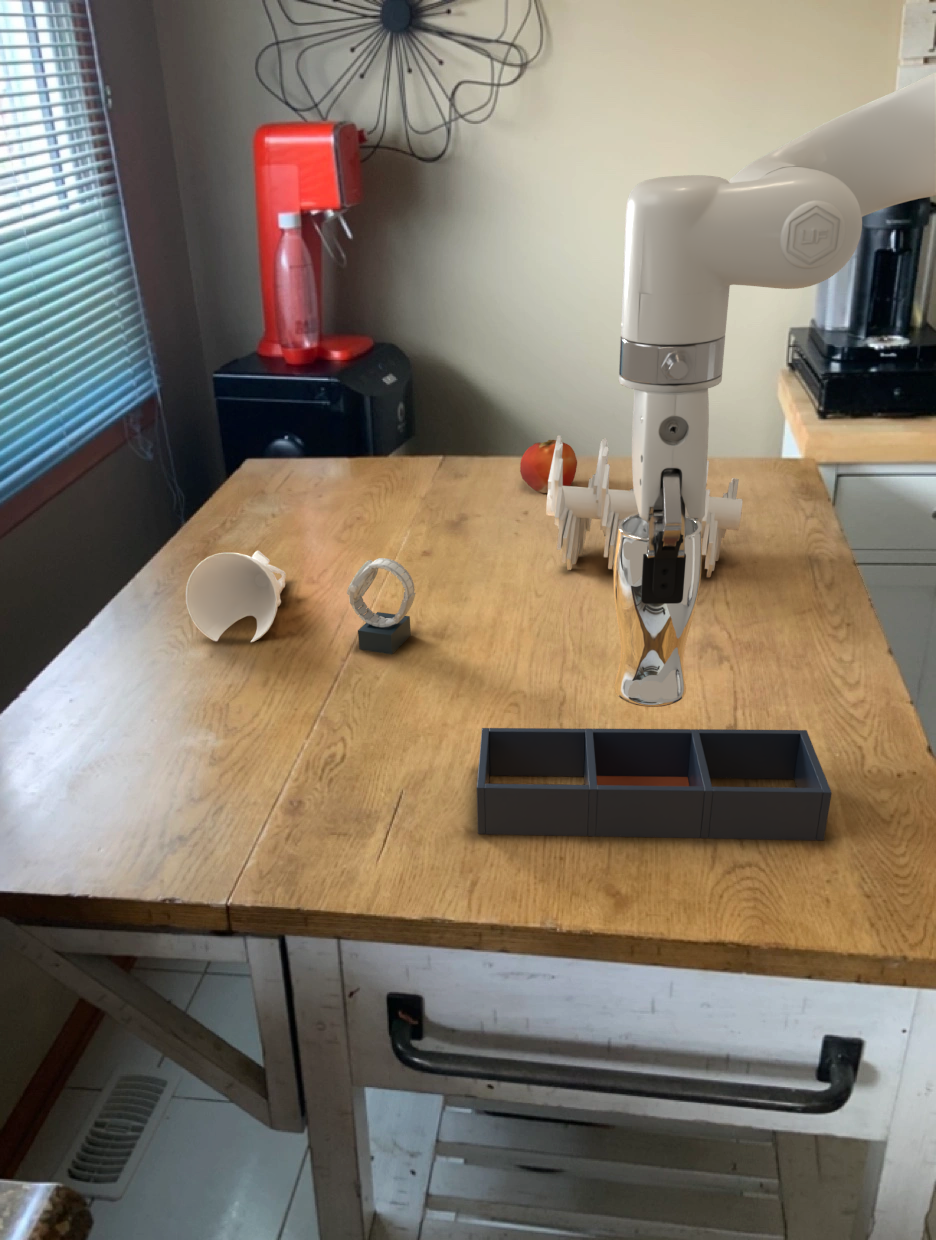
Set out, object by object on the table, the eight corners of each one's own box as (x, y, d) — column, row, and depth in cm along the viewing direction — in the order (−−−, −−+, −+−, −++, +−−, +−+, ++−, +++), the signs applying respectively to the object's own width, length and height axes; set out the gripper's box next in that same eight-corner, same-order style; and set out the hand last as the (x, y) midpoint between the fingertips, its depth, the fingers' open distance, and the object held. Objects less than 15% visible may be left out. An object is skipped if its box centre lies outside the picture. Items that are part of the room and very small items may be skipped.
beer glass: (661, 665, 101) (671, 505, 94) (708, 698, 96) (723, 530, 88) (593, 682, 99) (599, 520, 92) (637, 717, 94) (647, 547, 86)
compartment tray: (799, 780, 106) (806, 729, 104) (823, 846, 97) (832, 792, 95) (482, 777, 110) (481, 727, 107) (477, 839, 101) (476, 787, 98)
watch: (364, 632, 140) (358, 549, 135) (424, 641, 137) (420, 556, 132) (344, 652, 136) (337, 566, 130) (405, 661, 133) (400, 574, 127)
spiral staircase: (727, 612, 149) (538, 594, 154) (734, 516, 158) (556, 502, 163) (747, 513, 134) (537, 497, 139) (753, 413, 143) (557, 402, 149)
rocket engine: (263, 513, 152) (221, 532, 135) (329, 570, 152) (295, 595, 136) (214, 577, 156) (167, 603, 139) (278, 632, 156) (239, 664, 139)
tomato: (581, 496, 180) (582, 447, 176) (523, 500, 180) (523, 450, 176) (572, 478, 188) (573, 431, 184) (517, 482, 188) (516, 434, 184)
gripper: (740, 388, 76) (718, 628, 85) (707, 335, 91) (691, 543, 100) (627, 391, 77) (616, 628, 86) (613, 338, 92) (605, 545, 100)
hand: (657, 581), depth 92 cm, fingers closed on beer glass, 7 cm apart
